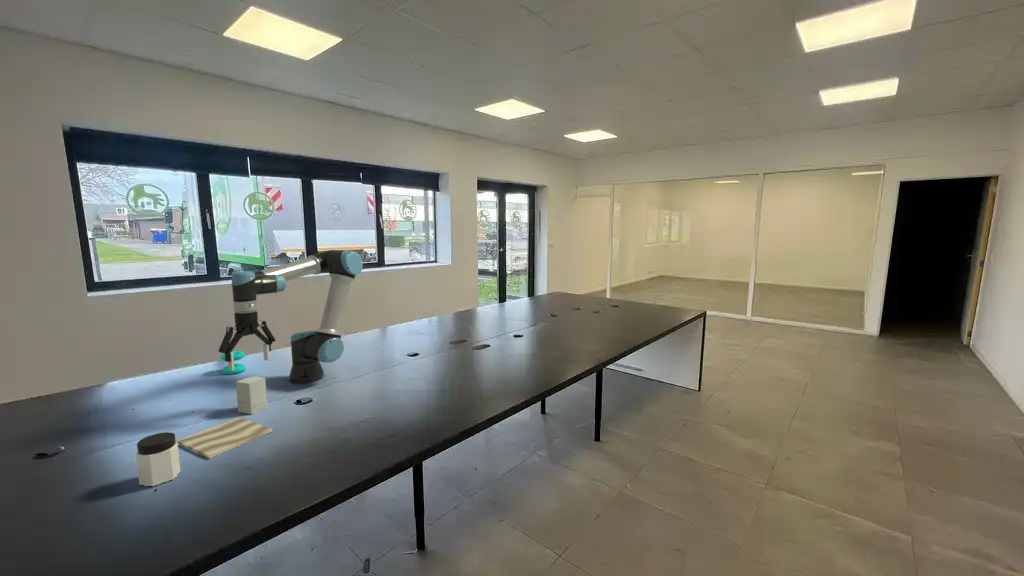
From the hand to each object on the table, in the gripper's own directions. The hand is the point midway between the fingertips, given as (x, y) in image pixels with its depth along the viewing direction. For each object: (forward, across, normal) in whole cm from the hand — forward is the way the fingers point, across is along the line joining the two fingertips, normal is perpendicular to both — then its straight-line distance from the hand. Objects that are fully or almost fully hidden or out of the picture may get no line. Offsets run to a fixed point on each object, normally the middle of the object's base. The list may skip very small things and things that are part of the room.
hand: (249, 364), depth 160 cm
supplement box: (+19, 0, 0) cm, 19 cm away
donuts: (+19, +23, +55) cm, 63 cm away
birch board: (+19, -18, -15) cm, 30 cm away
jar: (+19, -40, -24) cm, 50 cm away
